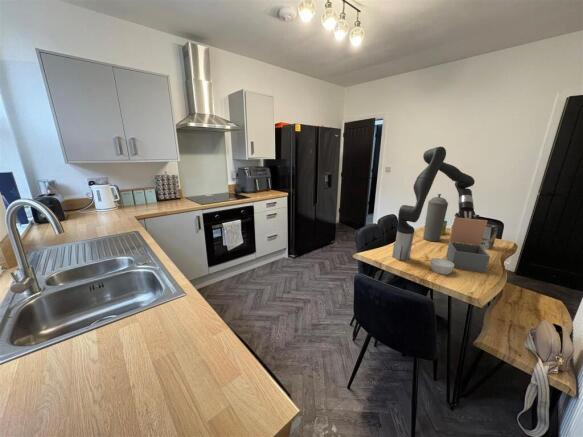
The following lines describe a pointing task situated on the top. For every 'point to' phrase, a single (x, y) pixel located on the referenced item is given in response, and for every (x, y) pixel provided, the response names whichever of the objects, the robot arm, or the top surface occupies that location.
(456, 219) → the lid
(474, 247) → the box
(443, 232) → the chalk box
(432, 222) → the canister
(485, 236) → the coffee box
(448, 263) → the ramekin
